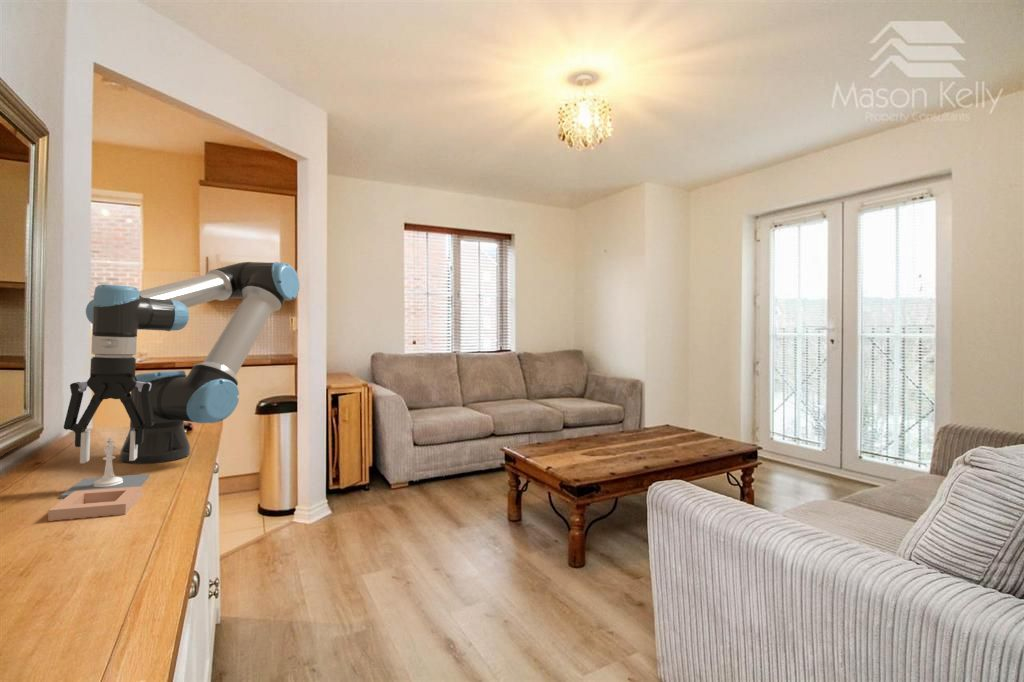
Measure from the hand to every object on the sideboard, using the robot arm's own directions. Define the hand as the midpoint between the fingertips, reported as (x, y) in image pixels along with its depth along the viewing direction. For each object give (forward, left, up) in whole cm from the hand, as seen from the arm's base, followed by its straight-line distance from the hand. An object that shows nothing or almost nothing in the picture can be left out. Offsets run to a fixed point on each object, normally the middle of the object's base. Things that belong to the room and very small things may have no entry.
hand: (109, 460), depth 103 cm
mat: (0, 0, -6) cm, 6 cm away
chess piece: (0, 0, -5) cm, 5 cm away
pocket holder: (+14, +2, -6) cm, 15 cm away
